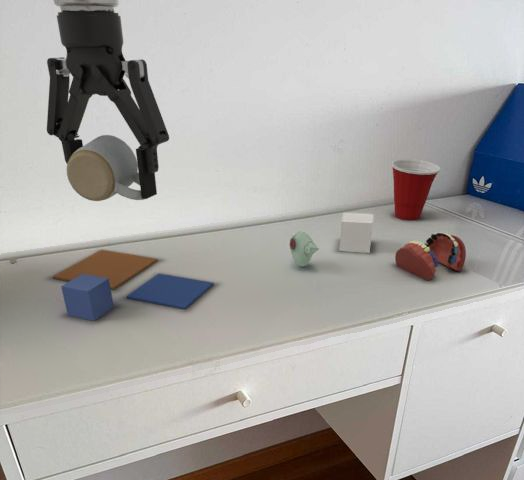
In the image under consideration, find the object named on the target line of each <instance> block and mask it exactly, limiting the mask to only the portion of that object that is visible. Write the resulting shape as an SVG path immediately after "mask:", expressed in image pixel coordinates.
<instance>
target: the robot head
mask: <svg viewBox="0 0 524 480" xmlns="http://www.w3.org/2000/svg"><path fill="white" fill-rule="evenodd" d="M289 249H290V254H291V257H292V259H293V260H294V262H295V263H296V264H297V265H298V266H299V267H301V268H302V267H307V266H308V265H309V263H310V262H311V260H312V257H313V255H314V254H315V253H316V252H317V251H319V250H320V248H319V246H318V245H317V244H316V243H315V242H314V240H313V238H312V236H311V235H309V234H308V233H307V232H305V231H301V230H299V231H296V232H294V233H293V234H291V236H290V240H289Z"/></svg>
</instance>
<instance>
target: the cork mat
mask: <svg viewBox="0 0 524 480" xmlns="http://www.w3.org/2000/svg"><path fill="white" fill-rule="evenodd" d="M156 262H158V258H154V257H149V256H142V255H136V254H129V253H123V252H118V251H117V252H116V251H110V250H105V249H100V250H99V251H97V252H94V253H93V254H91V255H88V256H87V257H85V258H83V259H82V260H80V261H78V262H76V263H75V264H73V265H70V266H69V267H67V268H65V269H63V270H62V271H60V272H58V273H56V274H54V275H53V276H52V278H53V279H55V280H61V281H65V282H69V281H71V280H73V279H74V278H76V277H78V276H80V275H81V274H87V275H92V276H98V277H104V278H109V283H110V288H111V290H115V289H117V288H119V287H120V286H121V285H123V284H125V283H126V282H127V281H129V280H130V279H132V278H133V277H135V276H136V275H139V274H140V273H141V272H144V270H146V269H147V268H149V267H151V265H153V264H155V263H156Z"/></svg>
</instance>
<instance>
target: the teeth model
mask: <svg viewBox="0 0 524 480" xmlns="http://www.w3.org/2000/svg"><path fill="white" fill-rule="evenodd" d="M466 257H467V250H466V246H465V243H464V241H463V240H462V239H461V238H460V237H458V236H457V235H453V234H449V233H447V232H436V233H432V234H431V235H430V237H428V238H427V239H426V240H425V242H424V243H423V242H421V241H419V240H414V239H413V240H409V242H407V243H406V244H405V245H403V246H402V247H400V248H399V249H398V250H396V252H395V257H394V260H395V266H396V267H399V268H401V269H403V270H405V271H407V272H409V273H411V274H413V275H415V276H417V277H419V278H422V279H424V280H426V281H430V280H431V279H433V278H434V277H435V274H436V270H437V269H436V268H438V267H439V264H442V265H444V266H446V267H448V268H449V269H452V270H454V271H457V272H462V271H463V269H464V266H465V263H466Z"/></svg>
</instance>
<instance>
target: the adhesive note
mask: <svg viewBox="0 0 524 480" xmlns="http://www.w3.org/2000/svg"><path fill="white" fill-rule="evenodd" d="M340 223H341V224H340V233H339V234H340V235H339V236H340V237H339V247H338V251H339V252H346V253H347V252H349V253H350V252H351V253H363V254H364V253H365V254H370V253H371V243H372V235H373V228H374V227H373V226H374V225H373V224H374V213H361V212H343V214H342V218H341V221H340Z"/></svg>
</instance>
